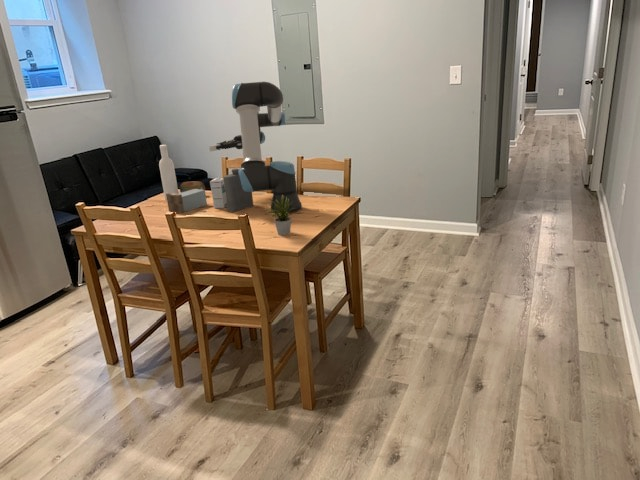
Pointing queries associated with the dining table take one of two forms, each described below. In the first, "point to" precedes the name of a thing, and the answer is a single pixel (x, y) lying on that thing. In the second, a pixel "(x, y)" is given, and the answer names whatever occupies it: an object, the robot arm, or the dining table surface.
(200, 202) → the slate block
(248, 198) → the flask
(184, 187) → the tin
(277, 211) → the house plant
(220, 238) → the dining table surface
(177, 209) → the walnut board
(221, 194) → the syrup box
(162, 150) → the bottle
